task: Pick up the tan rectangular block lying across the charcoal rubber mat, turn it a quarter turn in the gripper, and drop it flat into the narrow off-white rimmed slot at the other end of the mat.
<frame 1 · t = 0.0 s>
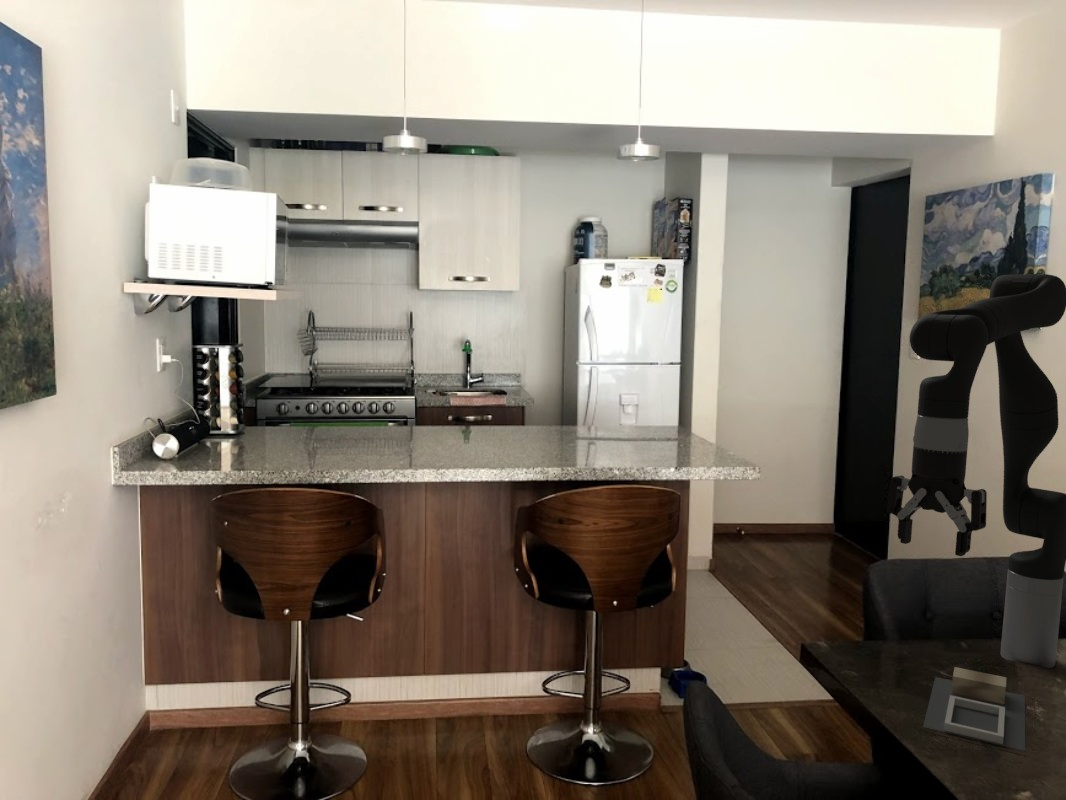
hand: (932, 548, 134), 29 cm above the table, tool pointing down, fingers open, 8 cm apart
mat: (975, 715, 142), on the table
slot frame: (974, 726, 138), resting on mat
tan rectangular block: (978, 693, 149), point 1 cm above the table, touching mat
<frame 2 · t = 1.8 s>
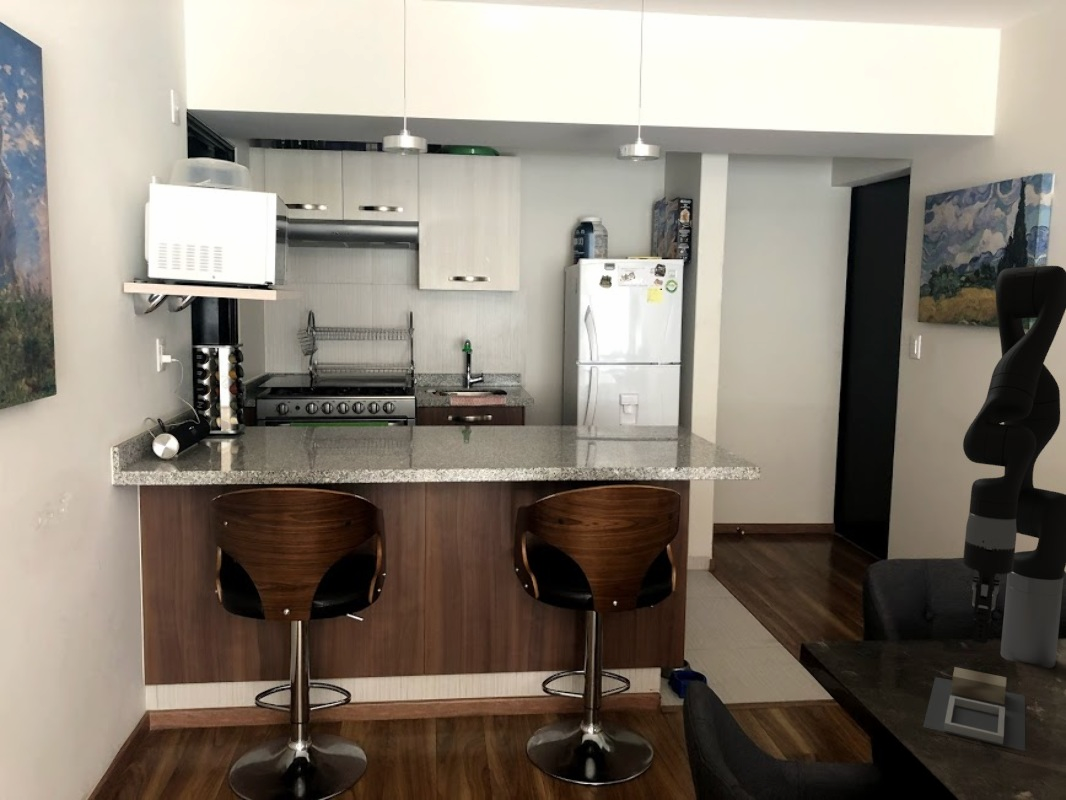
hand: (981, 634, 148), 11 cm above the table, tool pointing down, fingers open, 8 cm apart
nothing on the table moved.
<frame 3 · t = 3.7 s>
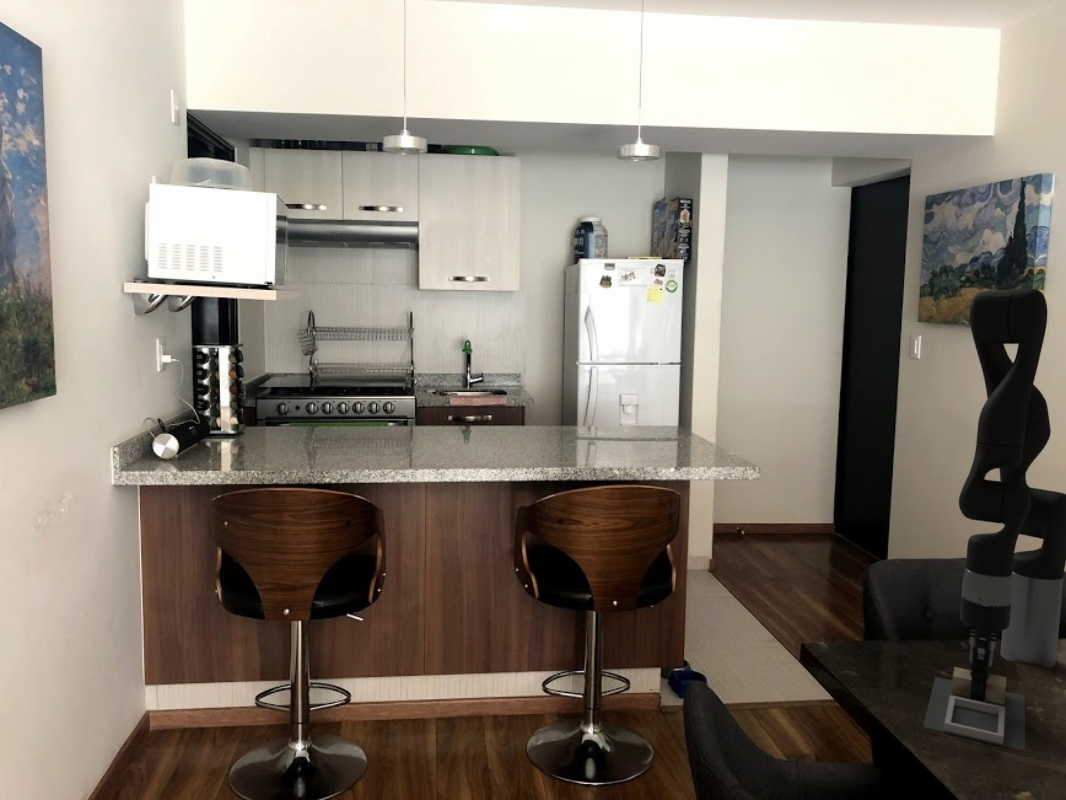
hand: (978, 692, 149), 1 cm above the table, tool pointing down, fingers closed on tan rectangular block, 4 cm apart
tan rectangular block: (978, 693, 149), point 1 cm above the table, touching gripper, mat
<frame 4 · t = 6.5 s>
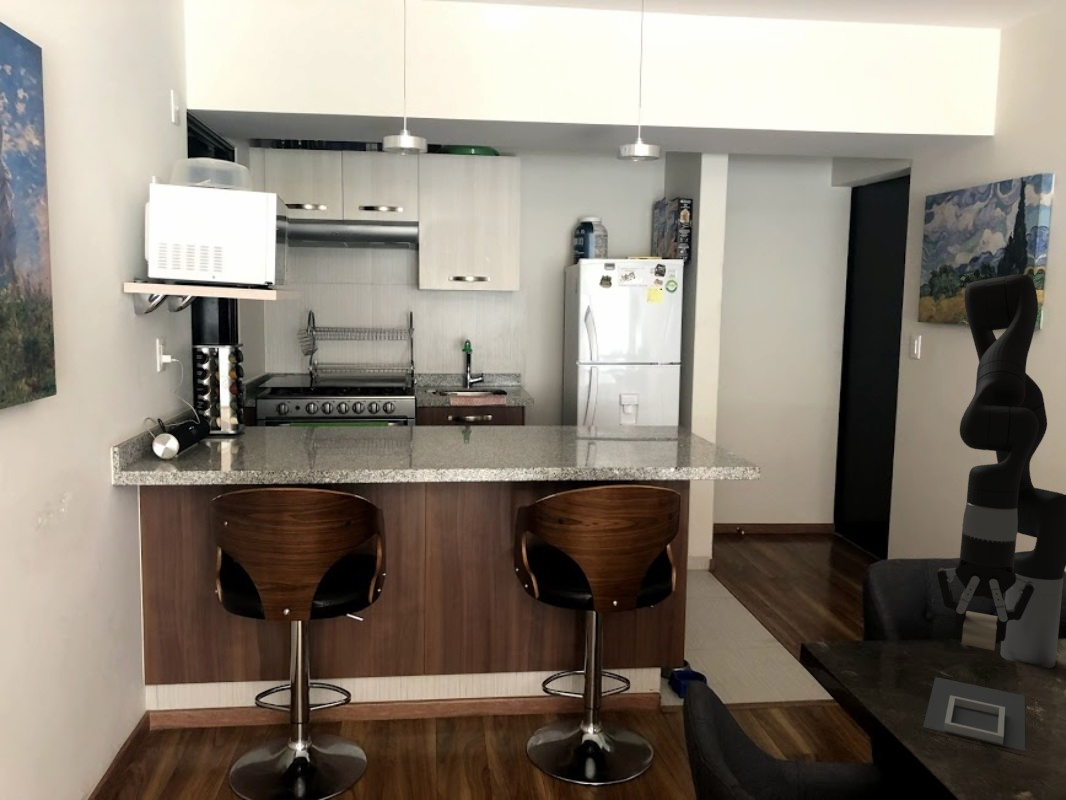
hand: (979, 638, 137), 15 cm above the table, tool pointing down, fingers closed on tan rectangular block, 4 cm apart
tan rectangular block: (979, 639, 137), point 14 cm above the table, touching gripper
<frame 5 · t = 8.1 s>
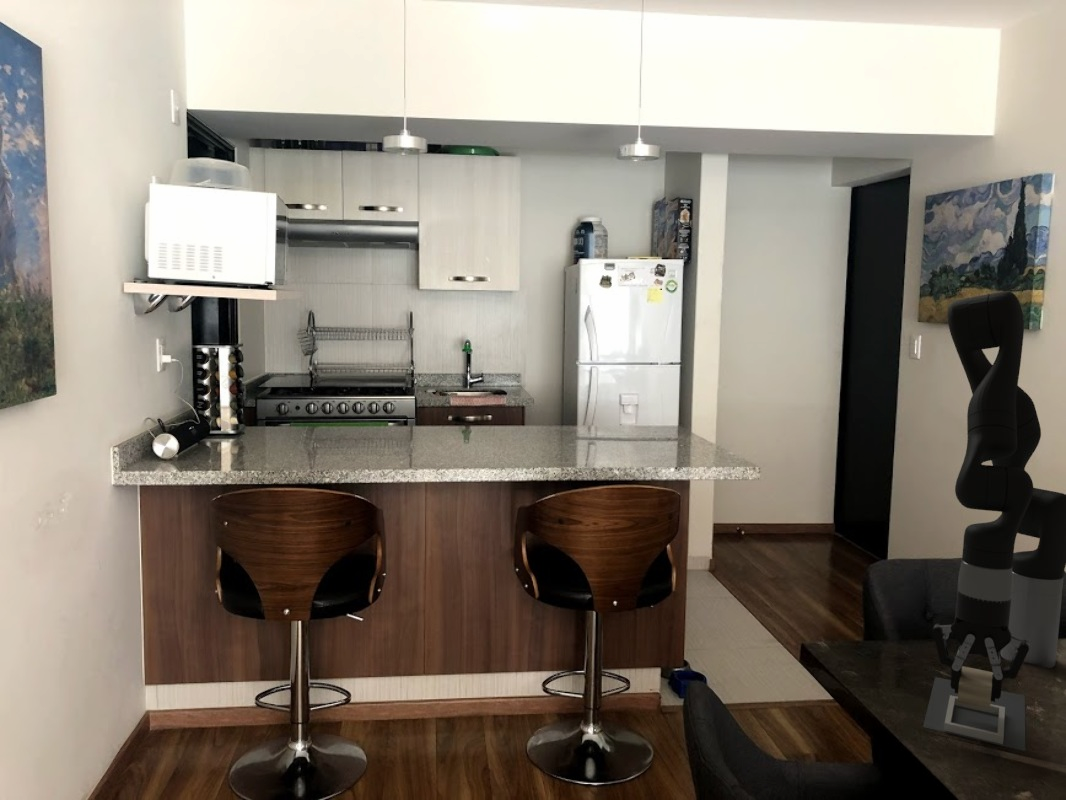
hand: (975, 695, 138), 5 cm above the table, tool pointing down, fingers closed on tan rectangular block, 4 cm apart
tan rectangular block: (974, 696, 138), point 5 cm above the table, touching gripper
when the fingers open (2 cm above the table, at t = 9.5 s): tan rectangular block drops 1 cm, resting on mat.
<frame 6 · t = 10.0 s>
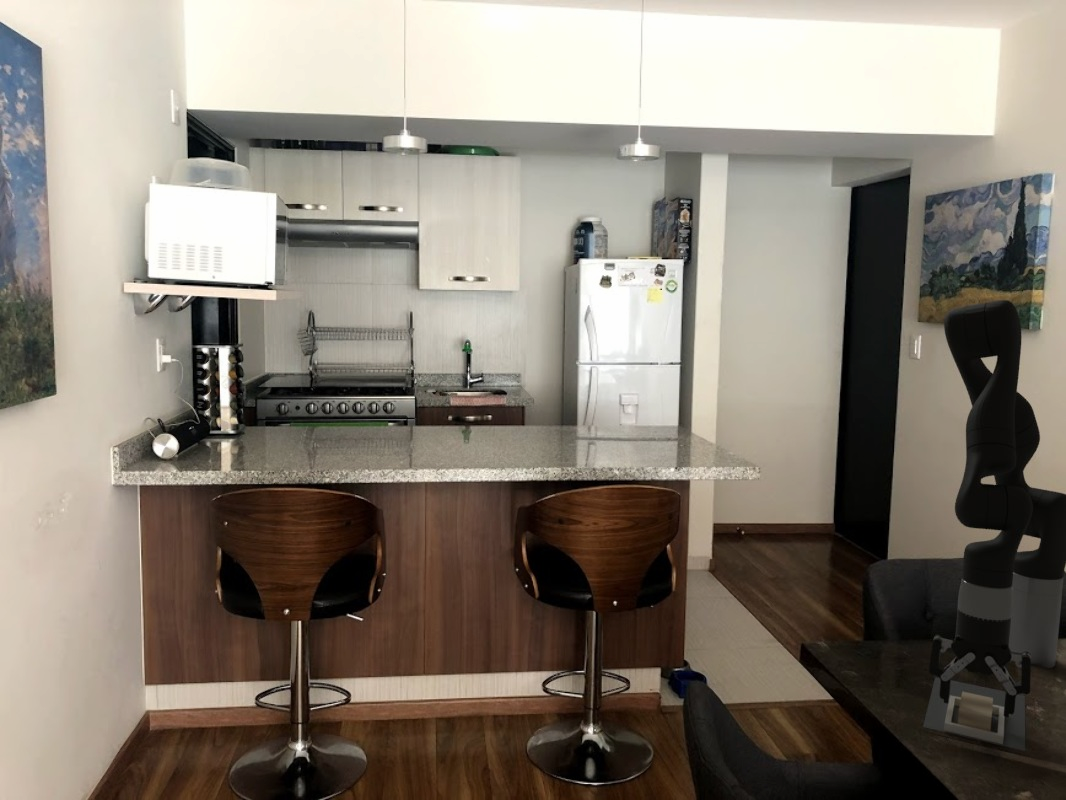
hand: (976, 708, 138), 3 cm above the table, tool pointing down, fingers open, 8 cm apart
tan rectangular block: (974, 722, 138), point 1 cm above the table, touching mat
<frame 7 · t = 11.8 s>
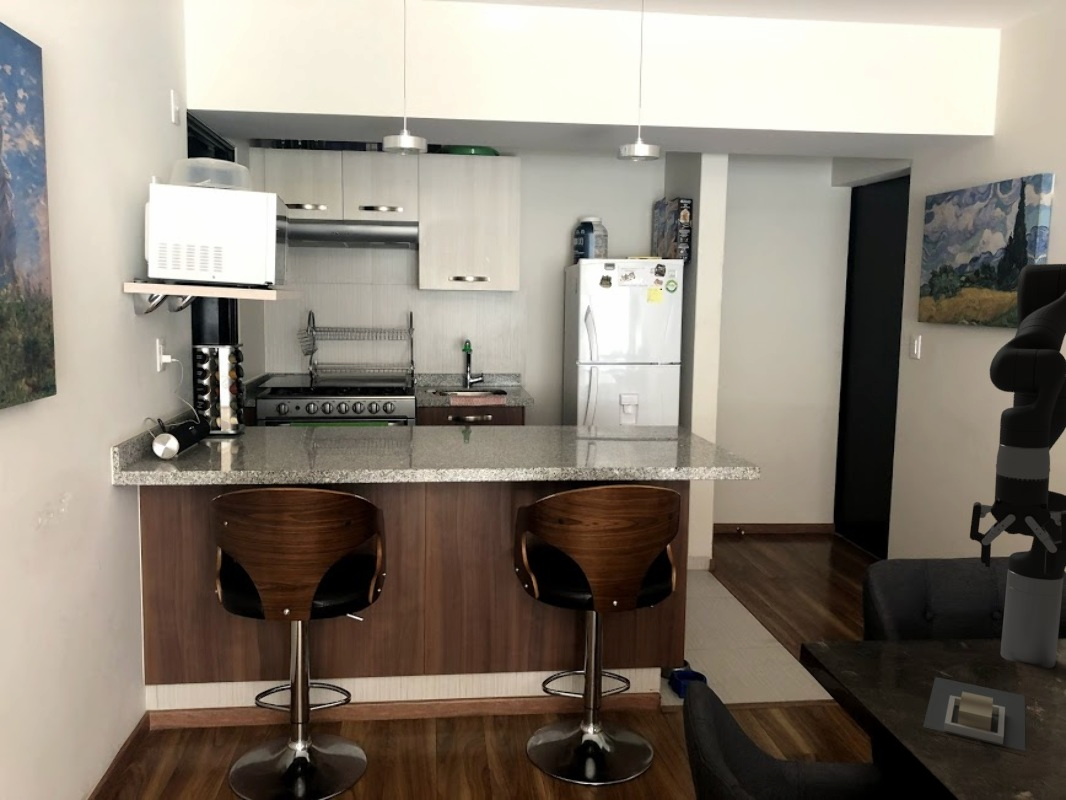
hand: (1017, 569, 142), 24 cm above the table, tool pointing down, fingers open, 8 cm apart
nothing on the table moved.
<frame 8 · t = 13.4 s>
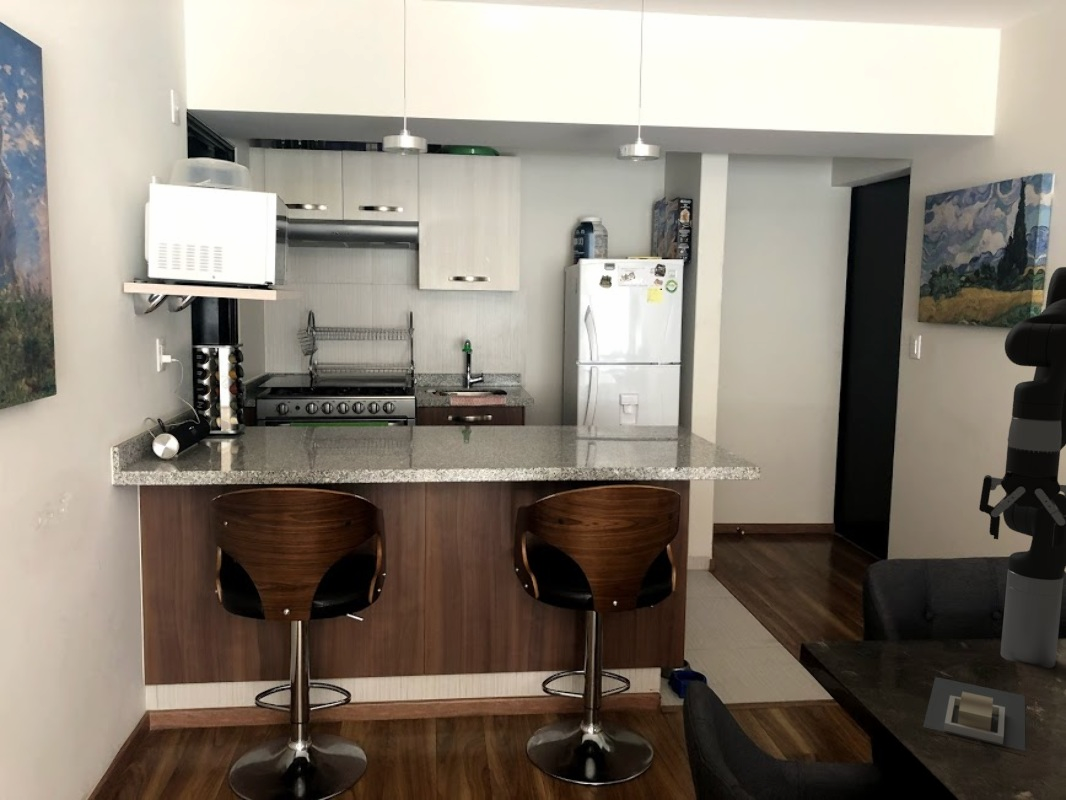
hand: (1025, 542, 144), 28 cm above the table, tool pointing down, fingers open, 8 cm apart
nothing on the table moved.
at the end: tan rectangular block 0.0 cm off-centre on the slot frame, point 0.8 cm above the slot frame's base; tan rectangular block tilted 0°; the gripper is holding nothing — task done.
